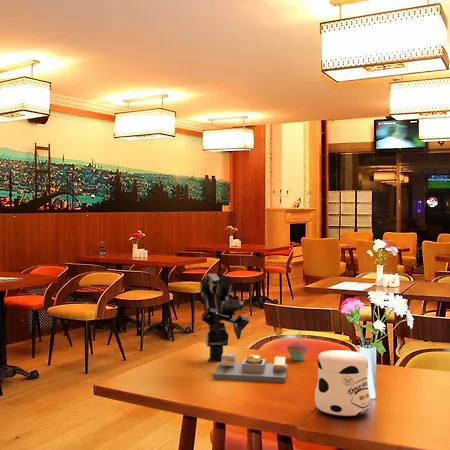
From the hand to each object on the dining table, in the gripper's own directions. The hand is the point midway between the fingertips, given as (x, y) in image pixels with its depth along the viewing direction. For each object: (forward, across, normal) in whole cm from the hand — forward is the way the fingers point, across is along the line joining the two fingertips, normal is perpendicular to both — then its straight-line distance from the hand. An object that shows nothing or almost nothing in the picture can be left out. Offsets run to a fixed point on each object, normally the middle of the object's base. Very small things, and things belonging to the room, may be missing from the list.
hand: (228, 336), depth 224 cm
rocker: (+8, +21, -1) cm, 23 cm away
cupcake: (-5, +41, +10) cm, 42 cm away
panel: (+9, +14, +8) cm, 18 cm away
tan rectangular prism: (+3, +8, +14) cm, 16 cm away
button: (+6, +14, +5) cm, 16 cm away
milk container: (+44, +19, -26) cm, 54 cm away
